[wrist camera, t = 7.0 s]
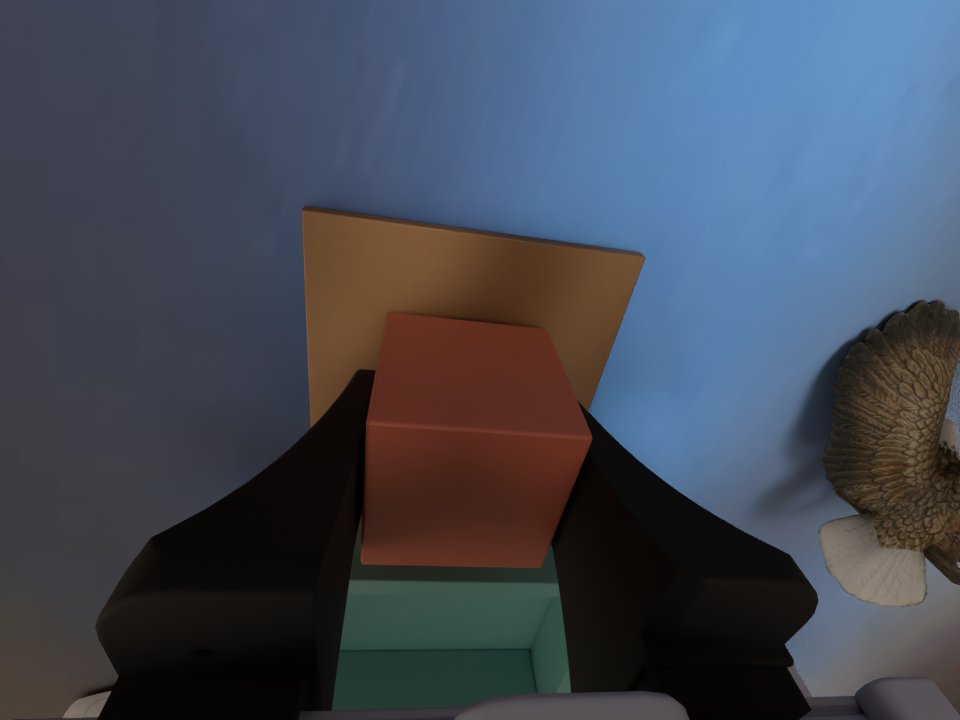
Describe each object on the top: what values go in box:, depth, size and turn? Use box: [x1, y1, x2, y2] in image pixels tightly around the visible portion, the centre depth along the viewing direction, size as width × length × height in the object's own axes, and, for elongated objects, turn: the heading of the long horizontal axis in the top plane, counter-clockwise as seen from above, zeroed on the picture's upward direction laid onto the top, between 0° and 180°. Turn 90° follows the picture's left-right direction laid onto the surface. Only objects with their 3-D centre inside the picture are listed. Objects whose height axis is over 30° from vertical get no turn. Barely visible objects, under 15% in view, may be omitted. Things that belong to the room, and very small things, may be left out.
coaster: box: [301, 206, 645, 427], centre depth 14 cm, size 9×9×1 cm
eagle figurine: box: [819, 301, 960, 607], centre depth 15 cm, size 8×7×9 cm
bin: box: [332, 516, 571, 711], centre depth 19 cm, size 14×12×4 cm
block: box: [360, 312, 592, 568], centre depth 12 cm, size 4×4×4 cm
